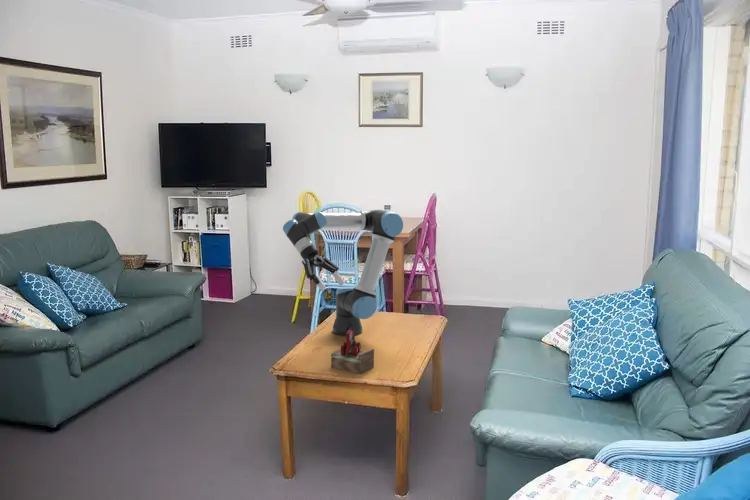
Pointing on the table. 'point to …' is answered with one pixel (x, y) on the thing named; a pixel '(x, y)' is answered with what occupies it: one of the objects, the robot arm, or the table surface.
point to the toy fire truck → (350, 344)
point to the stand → (353, 361)
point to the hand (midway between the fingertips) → (333, 286)
